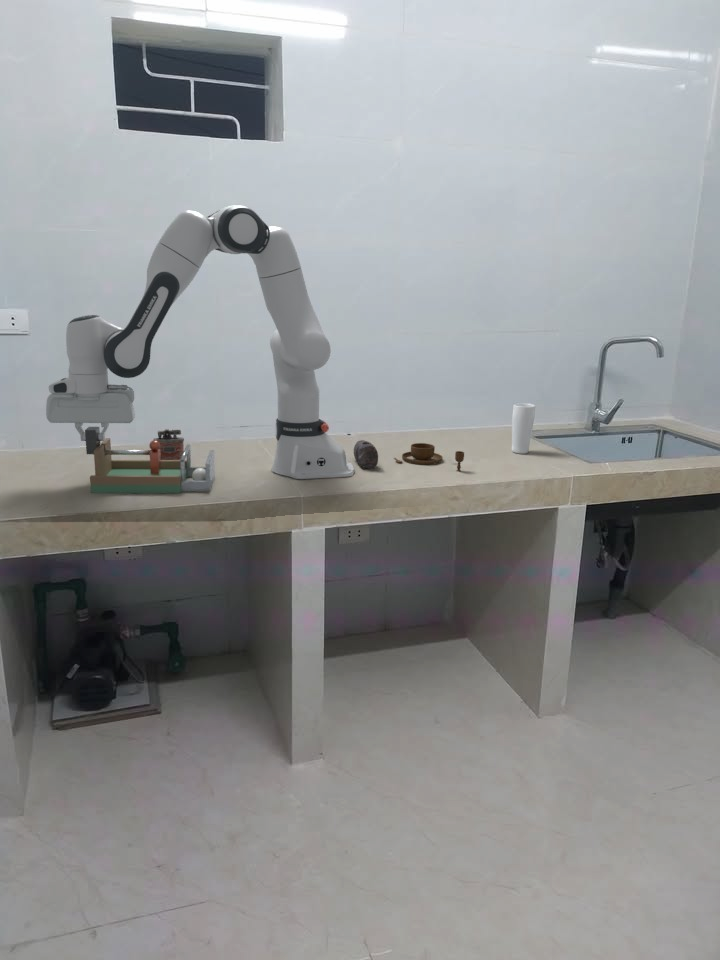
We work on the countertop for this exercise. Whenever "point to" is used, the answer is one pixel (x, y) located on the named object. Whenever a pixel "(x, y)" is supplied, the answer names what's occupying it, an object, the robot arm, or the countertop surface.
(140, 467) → the pitch
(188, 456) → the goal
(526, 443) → the drinking glass
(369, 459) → the perforated stone tool
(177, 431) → the lighter
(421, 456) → the place setting
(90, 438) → the rod
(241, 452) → the countertop surface
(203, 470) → the ball
